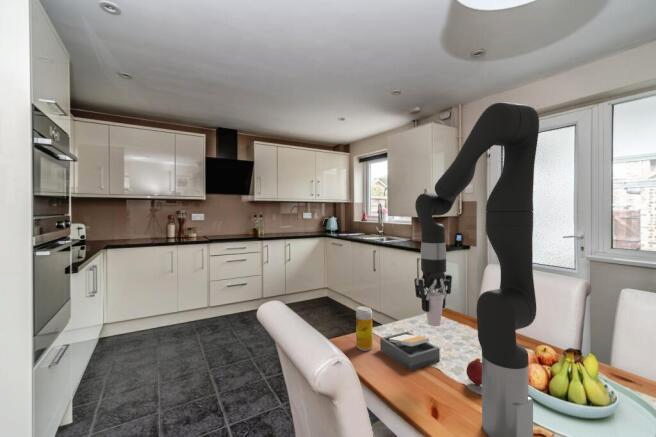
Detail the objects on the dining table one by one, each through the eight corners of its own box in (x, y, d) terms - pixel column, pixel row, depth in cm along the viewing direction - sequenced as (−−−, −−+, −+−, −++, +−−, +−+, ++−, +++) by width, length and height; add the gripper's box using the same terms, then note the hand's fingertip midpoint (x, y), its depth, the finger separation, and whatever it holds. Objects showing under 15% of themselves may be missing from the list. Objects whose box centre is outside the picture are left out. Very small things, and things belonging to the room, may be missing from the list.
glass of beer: (353, 346, 112) (353, 307, 111) (366, 342, 114) (366, 305, 114) (361, 352, 106) (361, 312, 106) (375, 349, 109) (375, 309, 108)
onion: (476, 392, 82) (476, 364, 82) (462, 381, 88) (462, 355, 87) (493, 389, 84) (493, 361, 83) (478, 378, 89) (477, 352, 89)
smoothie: (446, 328, 88) (446, 282, 88) (424, 327, 89) (424, 281, 89) (442, 320, 94) (442, 277, 94) (422, 319, 96) (421, 277, 95)
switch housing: (439, 361, 100) (439, 348, 99) (410, 370, 94) (410, 357, 94) (407, 342, 114) (407, 331, 114) (380, 350, 108) (380, 338, 108)
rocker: (431, 343, 100) (430, 336, 101) (409, 349, 96) (408, 342, 96) (408, 339, 111) (407, 333, 111) (387, 344, 106) (386, 338, 107)
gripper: (425, 260, 85) (425, 317, 85) (459, 256, 91) (459, 309, 91) (407, 257, 92) (408, 309, 92) (440, 253, 98) (440, 303, 98)
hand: (433, 309), depth 92 cm, fingers closed on smoothie, 6 cm apart
